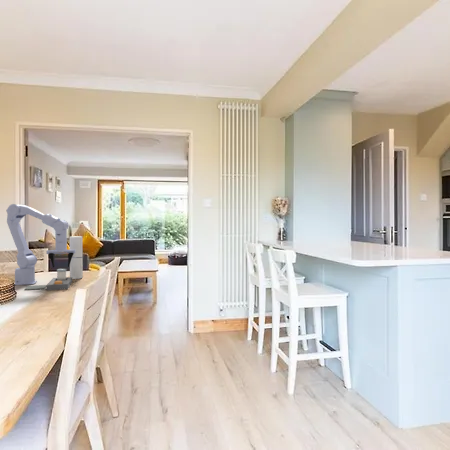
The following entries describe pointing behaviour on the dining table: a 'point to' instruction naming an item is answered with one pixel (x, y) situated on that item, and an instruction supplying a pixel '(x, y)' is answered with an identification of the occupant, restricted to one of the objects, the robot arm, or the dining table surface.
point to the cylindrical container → (76, 257)
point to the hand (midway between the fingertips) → (61, 266)
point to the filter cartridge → (61, 274)
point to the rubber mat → (35, 287)
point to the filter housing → (64, 284)
